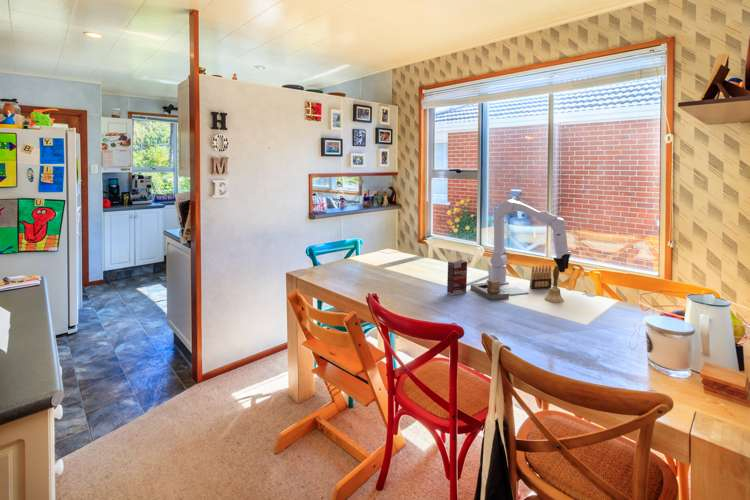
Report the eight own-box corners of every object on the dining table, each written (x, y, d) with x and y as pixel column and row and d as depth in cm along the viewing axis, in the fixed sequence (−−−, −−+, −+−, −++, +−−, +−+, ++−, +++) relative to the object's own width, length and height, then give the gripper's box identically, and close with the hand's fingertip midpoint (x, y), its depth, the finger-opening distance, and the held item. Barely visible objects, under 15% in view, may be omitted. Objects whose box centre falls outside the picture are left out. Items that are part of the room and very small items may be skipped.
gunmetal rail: (470, 289, 212) (470, 284, 211) (486, 287, 214) (486, 282, 214) (491, 300, 193) (491, 295, 192) (508, 298, 195) (508, 293, 195)
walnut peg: (487, 295, 201) (487, 280, 200) (494, 294, 202) (495, 279, 201) (491, 297, 197) (492, 282, 196) (499, 296, 198) (499, 281, 197)
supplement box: (453, 295, 202) (453, 263, 199) (446, 293, 206) (447, 261, 203) (467, 293, 206) (467, 261, 202) (460, 290, 210) (461, 259, 207)
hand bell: (567, 300, 191) (570, 266, 188) (555, 303, 187) (558, 269, 184) (552, 296, 198) (554, 263, 195) (540, 299, 194) (542, 265, 191)
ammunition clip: (531, 289, 209) (532, 266, 206) (529, 288, 211) (530, 265, 208) (551, 288, 210) (552, 265, 208) (549, 287, 212) (550, 264, 210)
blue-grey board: (499, 289, 209) (499, 288, 209) (516, 288, 212) (516, 286, 212) (510, 295, 200) (510, 294, 200) (528, 293, 202) (528, 292, 202)
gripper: (566, 244, 193) (569, 273, 194) (572, 239, 205) (575, 266, 206) (550, 245, 197) (553, 273, 199) (557, 241, 209) (560, 267, 210)
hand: (563, 270), depth 203 cm, fingers open, 7 cm apart
